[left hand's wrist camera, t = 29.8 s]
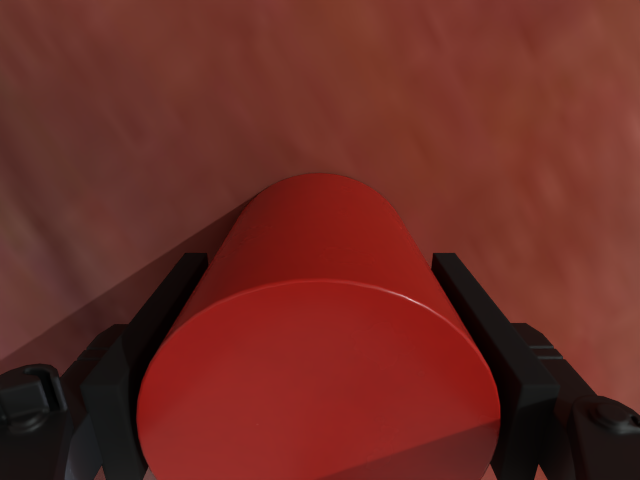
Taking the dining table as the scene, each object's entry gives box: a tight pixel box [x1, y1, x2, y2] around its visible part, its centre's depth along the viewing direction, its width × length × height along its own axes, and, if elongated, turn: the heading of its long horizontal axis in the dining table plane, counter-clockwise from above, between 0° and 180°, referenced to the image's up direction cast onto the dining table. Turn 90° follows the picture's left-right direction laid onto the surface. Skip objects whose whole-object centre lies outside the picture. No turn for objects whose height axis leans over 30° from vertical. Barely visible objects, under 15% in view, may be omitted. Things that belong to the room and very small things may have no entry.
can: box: [136, 173, 500, 480], centre depth 12 cm, size 7×7×9 cm
